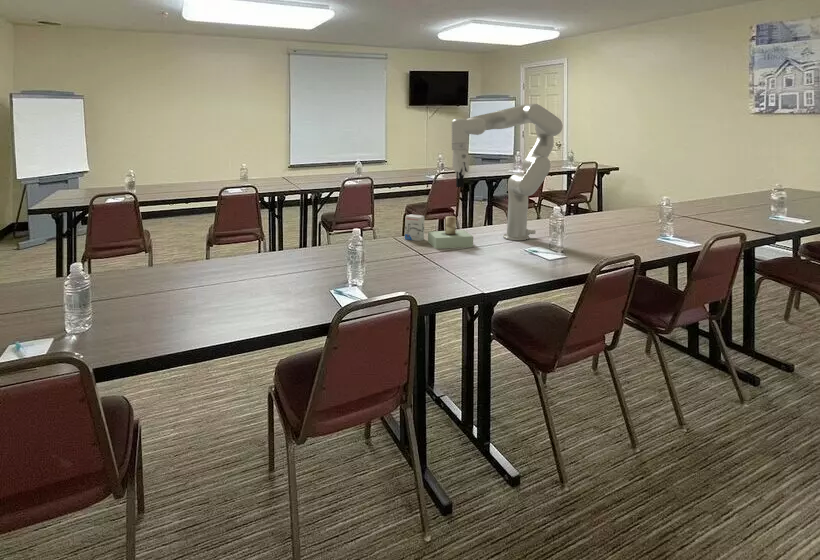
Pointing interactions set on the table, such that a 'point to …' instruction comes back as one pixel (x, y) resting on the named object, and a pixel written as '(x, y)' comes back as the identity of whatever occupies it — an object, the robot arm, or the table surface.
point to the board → (450, 239)
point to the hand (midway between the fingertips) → (460, 186)
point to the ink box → (414, 227)
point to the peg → (450, 225)
